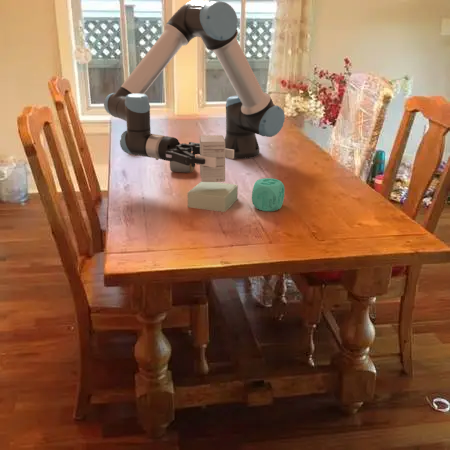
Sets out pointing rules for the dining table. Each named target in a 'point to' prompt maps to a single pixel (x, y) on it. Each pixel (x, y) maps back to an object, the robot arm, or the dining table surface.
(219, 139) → the supplement box
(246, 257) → the dining table surface
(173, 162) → the ceramic mug
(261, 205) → the decorative dice
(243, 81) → the robot arm
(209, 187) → the sage box
